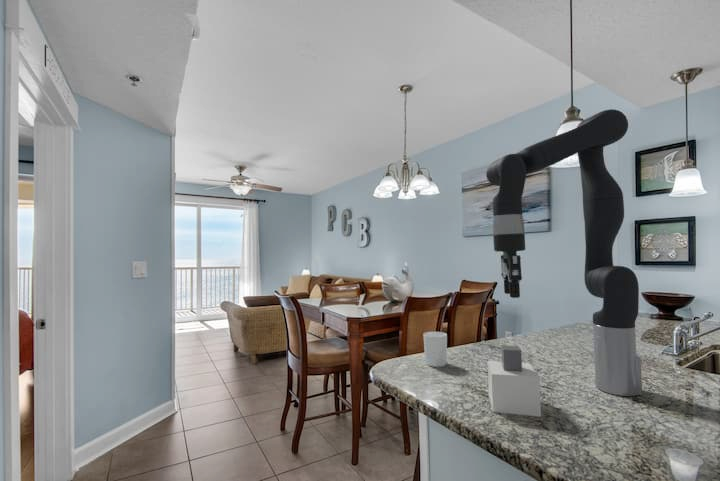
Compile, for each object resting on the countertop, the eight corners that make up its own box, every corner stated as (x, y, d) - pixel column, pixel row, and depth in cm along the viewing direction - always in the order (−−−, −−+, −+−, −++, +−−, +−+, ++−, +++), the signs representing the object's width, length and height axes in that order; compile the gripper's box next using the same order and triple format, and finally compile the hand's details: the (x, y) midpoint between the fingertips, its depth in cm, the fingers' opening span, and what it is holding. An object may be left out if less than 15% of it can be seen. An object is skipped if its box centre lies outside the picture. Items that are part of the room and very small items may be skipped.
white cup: (448, 368, 111) (447, 337, 112) (423, 367, 113) (423, 336, 113) (447, 360, 119) (446, 331, 120) (424, 359, 121) (423, 331, 121)
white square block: (531, 398, 87) (529, 343, 88) (541, 416, 78) (538, 355, 78) (488, 394, 90) (487, 341, 91) (493, 412, 80) (491, 352, 81)
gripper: (530, 230, 82) (534, 299, 81) (518, 233, 95) (521, 292, 95) (497, 232, 83) (500, 299, 83) (490, 235, 97) (492, 292, 97)
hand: (511, 295), depth 89 cm, fingers open, 8 cm apart
